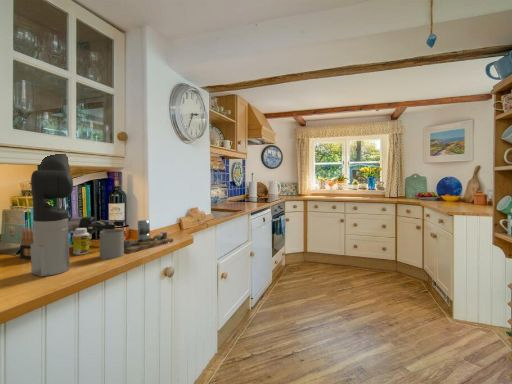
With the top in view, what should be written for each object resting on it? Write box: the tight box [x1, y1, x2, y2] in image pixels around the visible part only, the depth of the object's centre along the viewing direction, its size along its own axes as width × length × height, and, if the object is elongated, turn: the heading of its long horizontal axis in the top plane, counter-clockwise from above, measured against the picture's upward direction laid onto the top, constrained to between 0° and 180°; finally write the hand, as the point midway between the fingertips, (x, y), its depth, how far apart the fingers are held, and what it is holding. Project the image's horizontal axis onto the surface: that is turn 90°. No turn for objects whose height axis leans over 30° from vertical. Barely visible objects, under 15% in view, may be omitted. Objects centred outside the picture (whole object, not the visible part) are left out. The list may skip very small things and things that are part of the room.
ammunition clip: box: [19, 226, 34, 260], centre depth 102 cm, size 11×2×12 cm, turn 78°
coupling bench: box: [124, 231, 174, 254], centre depth 124 cm, size 24×10×4 cm, turn 152°
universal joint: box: [137, 219, 151, 242], centre depth 124 cm, size 5×5×10 cm
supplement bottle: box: [72, 228, 90, 256], centre depth 110 cm, size 6×6×10 cm
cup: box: [99, 228, 125, 260], centre depth 107 cm, size 8×8×10 cm
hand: (119, 225), depth 123 cm, fingers open, 8 cm apart
